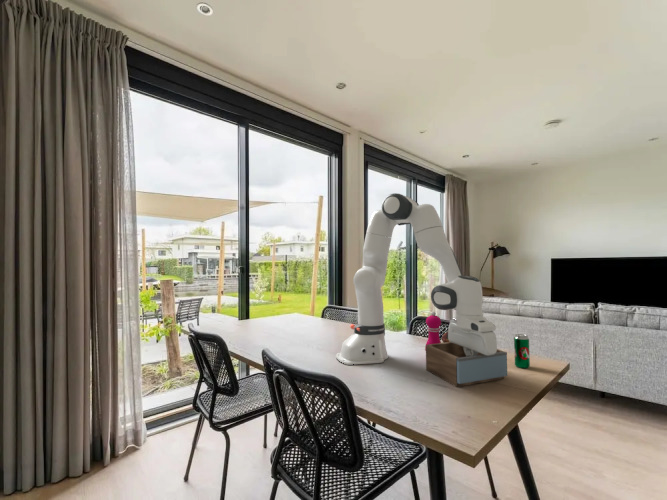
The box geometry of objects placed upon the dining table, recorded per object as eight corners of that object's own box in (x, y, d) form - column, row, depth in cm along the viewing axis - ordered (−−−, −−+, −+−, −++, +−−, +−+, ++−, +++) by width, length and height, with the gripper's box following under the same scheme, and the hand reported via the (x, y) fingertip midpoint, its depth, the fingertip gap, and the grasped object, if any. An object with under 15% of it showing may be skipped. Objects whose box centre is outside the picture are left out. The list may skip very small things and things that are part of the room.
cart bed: (456, 386, 107) (455, 357, 107) (426, 370, 123) (425, 344, 123) (504, 378, 113) (503, 351, 113) (469, 363, 129) (468, 339, 129)
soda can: (517, 363, 128) (516, 333, 128) (531, 366, 125) (530, 335, 125) (512, 366, 125) (512, 335, 125) (527, 370, 121) (526, 337, 121)
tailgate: (459, 384, 105) (459, 359, 105) (456, 382, 107) (456, 358, 107) (507, 375, 112) (506, 352, 112) (504, 374, 113) (503, 351, 113)
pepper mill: (434, 364, 129) (433, 313, 130) (421, 359, 136) (420, 311, 136) (447, 361, 133) (446, 312, 133) (434, 356, 139) (433, 309, 140)
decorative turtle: (460, 344, 157) (460, 327, 157) (467, 353, 142) (467, 335, 142) (439, 343, 159) (439, 327, 159) (444, 353, 144) (444, 334, 144)
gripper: (443, 317, 124) (444, 353, 123) (484, 328, 104) (485, 371, 104) (457, 316, 126) (458, 352, 125) (499, 326, 106) (501, 369, 106)
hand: (470, 361), depth 115 cm, fingers closed
